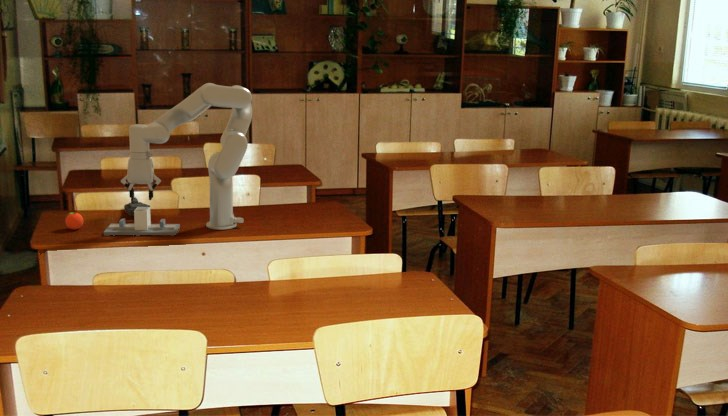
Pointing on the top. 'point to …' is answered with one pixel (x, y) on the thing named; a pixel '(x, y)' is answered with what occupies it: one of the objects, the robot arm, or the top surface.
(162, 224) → the rail
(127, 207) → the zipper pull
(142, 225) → the block
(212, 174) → the robot arm
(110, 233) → the board
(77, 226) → the clementine
